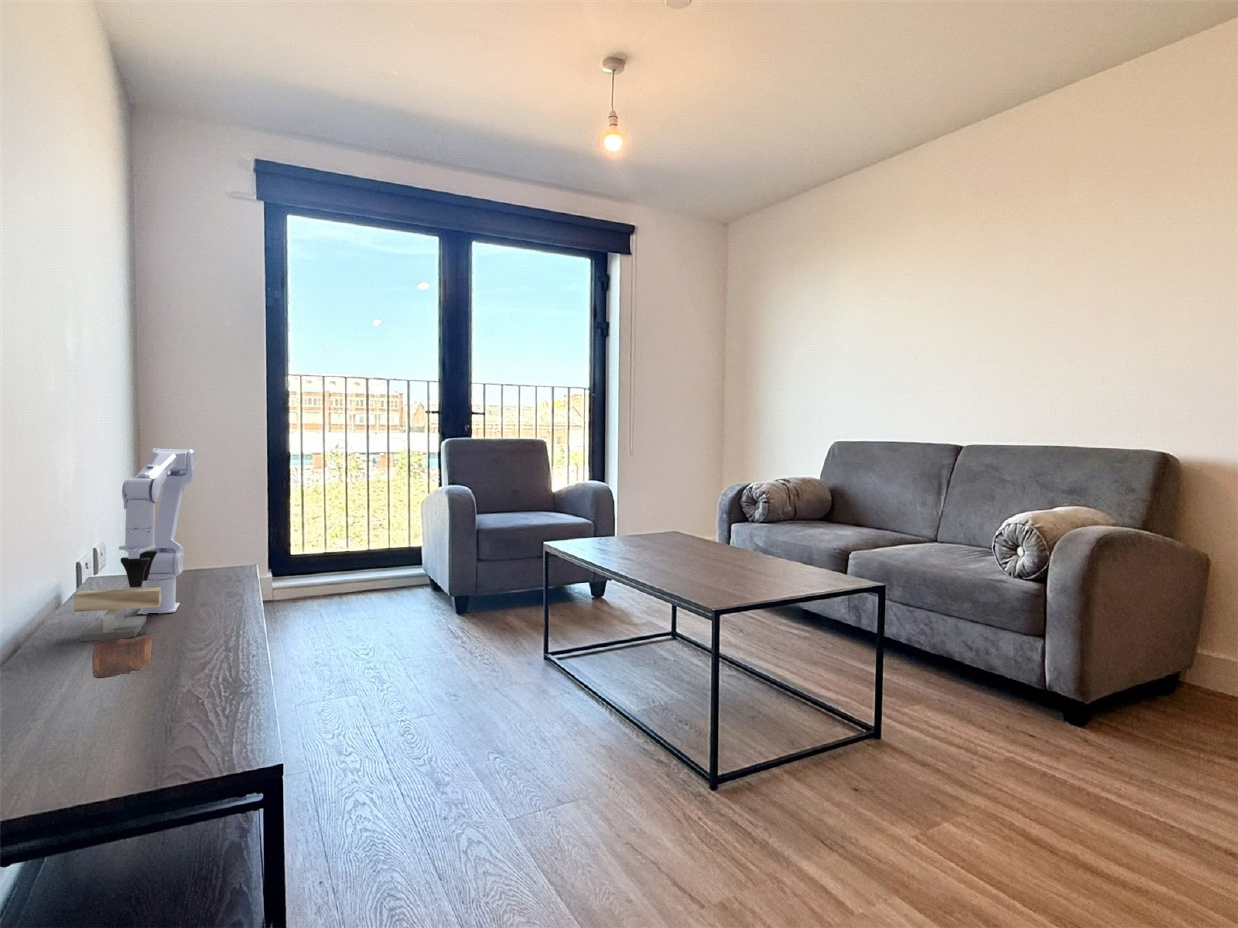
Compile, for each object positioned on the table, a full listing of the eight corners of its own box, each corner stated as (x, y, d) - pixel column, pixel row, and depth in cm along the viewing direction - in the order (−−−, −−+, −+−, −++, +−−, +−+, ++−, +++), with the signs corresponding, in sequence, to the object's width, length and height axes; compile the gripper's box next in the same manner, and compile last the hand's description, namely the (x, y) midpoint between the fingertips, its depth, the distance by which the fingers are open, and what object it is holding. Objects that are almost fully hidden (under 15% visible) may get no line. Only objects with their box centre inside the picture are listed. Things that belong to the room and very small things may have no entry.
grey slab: (96, 625, 160) (96, 619, 160) (146, 621, 164) (146, 615, 164) (80, 641, 147) (80, 635, 147) (134, 637, 152) (135, 631, 152)
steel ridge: (116, 618, 161) (116, 601, 161) (126, 617, 162) (126, 601, 162) (103, 632, 150) (103, 615, 150) (113, 631, 151) (114, 614, 150)
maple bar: (78, 608, 154) (78, 591, 154) (160, 603, 161) (161, 587, 161) (74, 612, 151) (74, 594, 151) (158, 607, 158) (159, 590, 158)
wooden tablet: (150, 667, 131) (87, 669, 126) (149, 678, 131) (85, 680, 126) (152, 633, 153) (98, 633, 148) (151, 642, 153) (96, 643, 148)
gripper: (126, 524, 164) (125, 578, 165) (112, 532, 151) (111, 591, 152) (160, 524, 167) (159, 577, 168) (150, 531, 155) (148, 589, 155)
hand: (138, 583), depth 160 cm, fingers open, 7 cm apart
